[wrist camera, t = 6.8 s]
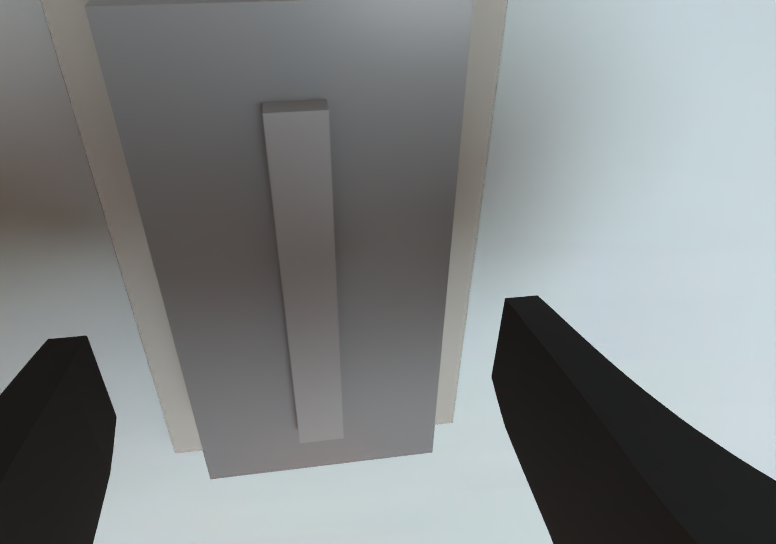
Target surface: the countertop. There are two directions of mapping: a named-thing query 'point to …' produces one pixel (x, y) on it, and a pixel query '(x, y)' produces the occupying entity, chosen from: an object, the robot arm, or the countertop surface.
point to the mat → (129, 240)
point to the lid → (295, 211)
